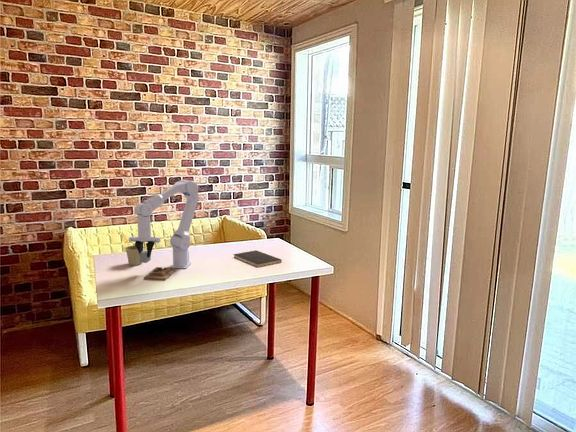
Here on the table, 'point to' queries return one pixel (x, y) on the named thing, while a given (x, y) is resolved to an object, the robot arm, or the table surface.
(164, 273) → the chassis board
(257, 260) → the hardcover book
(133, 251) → the flower pot
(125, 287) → the table surface
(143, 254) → the servo block
